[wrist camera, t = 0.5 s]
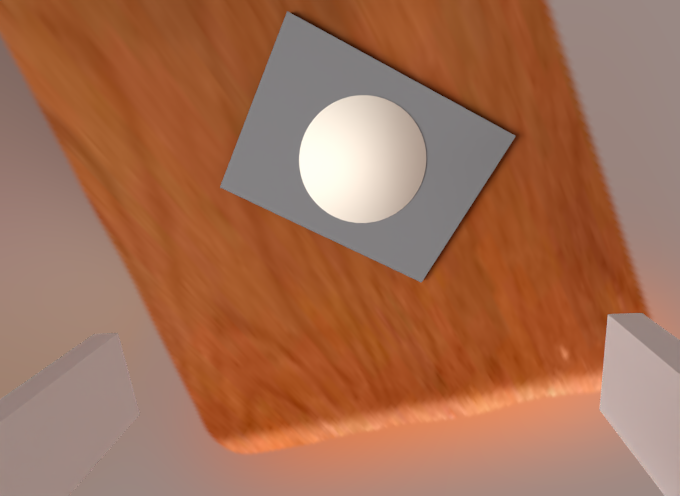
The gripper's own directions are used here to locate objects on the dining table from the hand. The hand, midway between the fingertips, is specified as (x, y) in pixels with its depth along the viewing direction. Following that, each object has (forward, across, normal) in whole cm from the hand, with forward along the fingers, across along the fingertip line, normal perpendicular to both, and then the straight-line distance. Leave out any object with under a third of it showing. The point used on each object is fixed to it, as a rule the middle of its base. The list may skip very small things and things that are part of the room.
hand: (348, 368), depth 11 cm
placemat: (+24, -1, +4) cm, 24 cm away
